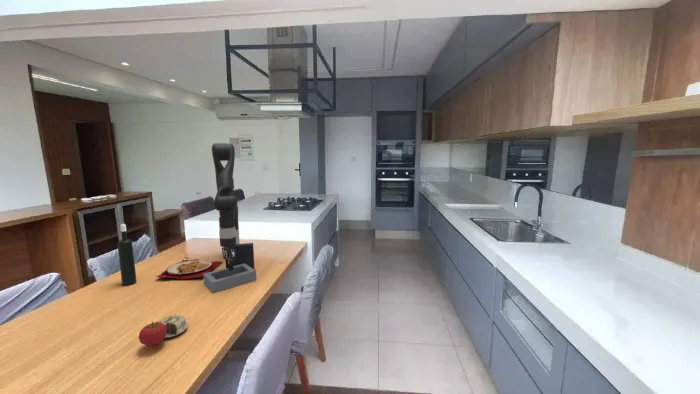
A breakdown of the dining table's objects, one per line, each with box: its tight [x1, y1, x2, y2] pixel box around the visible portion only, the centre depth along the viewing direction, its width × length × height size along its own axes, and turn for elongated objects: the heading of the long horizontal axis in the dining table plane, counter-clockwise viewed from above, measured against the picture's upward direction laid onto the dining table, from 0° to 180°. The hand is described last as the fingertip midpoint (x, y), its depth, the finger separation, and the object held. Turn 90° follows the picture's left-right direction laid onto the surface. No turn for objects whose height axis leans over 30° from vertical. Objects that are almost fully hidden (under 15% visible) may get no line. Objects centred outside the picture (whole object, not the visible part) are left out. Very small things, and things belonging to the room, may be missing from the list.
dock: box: [203, 263, 257, 294], centre depth 145 cm, size 14×21×5 cm, turn 132°
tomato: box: [138, 320, 167, 347], centre depth 97 cm, size 8×8×8 cm
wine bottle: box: [117, 223, 137, 286], centre depth 143 cm, size 6×6×30 cm
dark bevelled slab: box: [233, 242, 255, 270], centre depth 159 cm, size 11×4×15 cm, turn 105°
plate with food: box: [155, 256, 224, 280], centre depth 160 cm, size 24×26×3 cm
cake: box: [159, 314, 189, 338], centre depth 105 cm, size 10×10×5 cm
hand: (229, 269), depth 145 cm, fingers open, 3 cm apart
